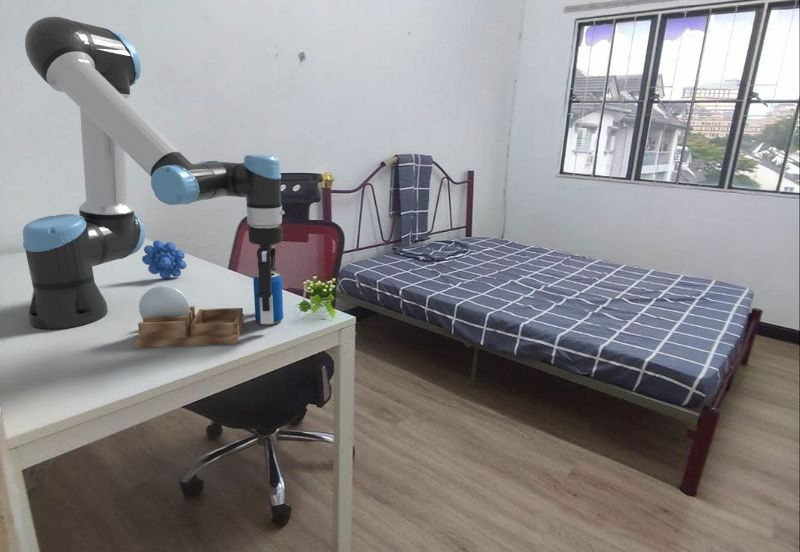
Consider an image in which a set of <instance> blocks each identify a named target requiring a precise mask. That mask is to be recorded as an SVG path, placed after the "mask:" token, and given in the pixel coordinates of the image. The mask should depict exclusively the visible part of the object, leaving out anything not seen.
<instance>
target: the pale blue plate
mask: <svg viewBox="0 0 800 552" xmlns="http://www.w3.org/2000/svg"><path fill="white" fill-rule="evenodd" d="M190 306H191V305H190V303H189V300H188V298H187V297H186V296H185V294H184V293H183V292H181V291H180V290H179V289H177V288H175V287H173V286H168V285H158V286H154V287H152V288H150V289H149V290H147V291H146V292H144V294H143V295H142V296H141V298H140V300H139V304H138V310H139V311H138V312H139V314H140V317H141V319H143V318H144V317H163V316H188V315H189V311H190Z"/></svg>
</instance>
